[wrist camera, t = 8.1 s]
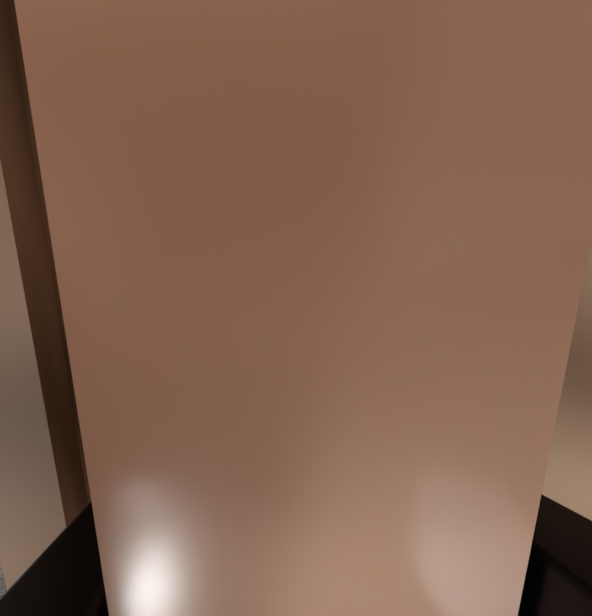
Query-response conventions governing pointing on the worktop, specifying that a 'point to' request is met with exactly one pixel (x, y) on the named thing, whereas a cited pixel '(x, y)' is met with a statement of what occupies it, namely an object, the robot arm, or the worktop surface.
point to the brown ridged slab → (57, 371)
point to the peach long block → (315, 290)
